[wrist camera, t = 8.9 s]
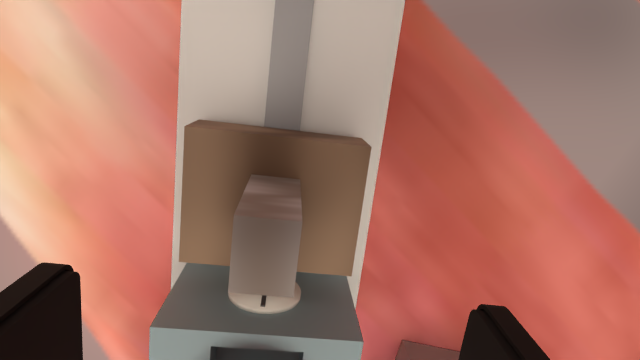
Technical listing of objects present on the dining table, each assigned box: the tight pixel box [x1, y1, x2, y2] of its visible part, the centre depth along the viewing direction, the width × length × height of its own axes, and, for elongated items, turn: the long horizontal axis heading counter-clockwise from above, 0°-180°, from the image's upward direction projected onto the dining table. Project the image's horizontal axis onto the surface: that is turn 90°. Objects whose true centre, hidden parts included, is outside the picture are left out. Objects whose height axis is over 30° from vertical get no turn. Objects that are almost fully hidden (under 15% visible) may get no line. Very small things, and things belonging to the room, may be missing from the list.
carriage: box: [179, 119, 372, 298], centre depth 19 cm, size 9×7×9 cm
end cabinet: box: [149, 263, 363, 360], centre depth 23 cm, size 10×6×7 cm, turn 83°
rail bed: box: [171, 0, 405, 309], centre depth 23 cm, size 12×29×4 cm, turn 173°
